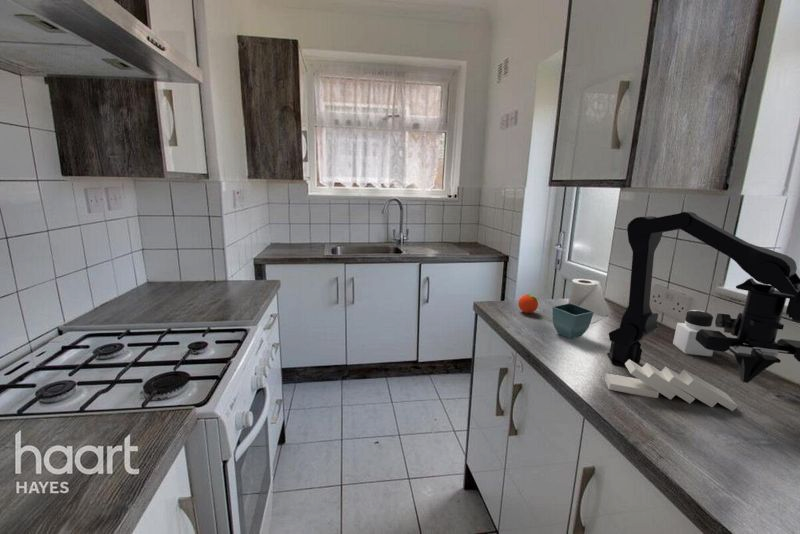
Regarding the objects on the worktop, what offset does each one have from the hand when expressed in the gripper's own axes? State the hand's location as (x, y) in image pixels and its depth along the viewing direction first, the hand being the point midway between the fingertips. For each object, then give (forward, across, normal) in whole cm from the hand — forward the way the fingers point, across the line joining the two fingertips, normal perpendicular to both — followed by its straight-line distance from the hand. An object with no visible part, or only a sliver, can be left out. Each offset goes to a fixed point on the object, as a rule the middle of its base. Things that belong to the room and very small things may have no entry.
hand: (744, 381), depth 80 cm
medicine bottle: (+6, -2, -31) cm, 32 cm away
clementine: (+6, +44, -46) cm, 64 cm away
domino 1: (+5, +16, 0) cm, 17 cm away
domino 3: (+6, +9, 0) cm, 11 cm away
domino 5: (+6, +2, 0) cm, 6 cm away
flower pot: (+6, +32, -29) cm, 43 cm away
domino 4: (+6, +5, 0) cm, 8 cm away
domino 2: (+5, +13, 0) cm, 14 cm away
